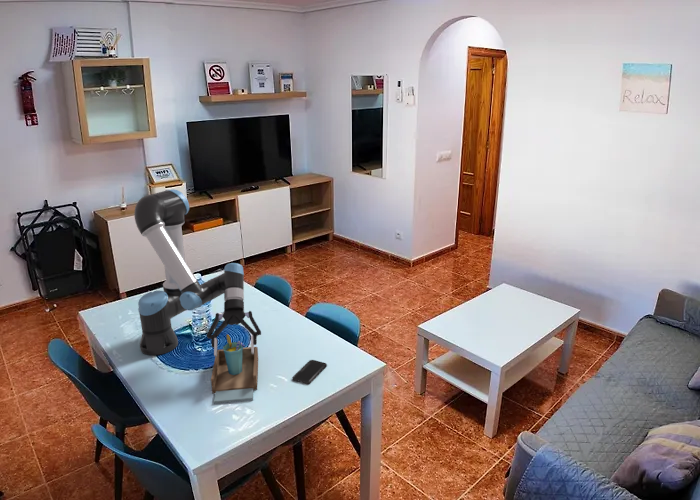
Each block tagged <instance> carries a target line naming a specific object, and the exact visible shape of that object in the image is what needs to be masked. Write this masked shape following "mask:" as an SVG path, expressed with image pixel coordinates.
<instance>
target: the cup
mask: <svg viewBox="0 0 700 500" xmlns="http://www.w3.org/2000/svg"><path fill="white" fill-rule="evenodd" d="M226 341H227V343H226V344H225V345H224V346H222V349H223V350H224V353H225V357H226V363H227V368H228V372H229V374H231V375H237V374H240V373H241V372H242V350H243V348H246V347H245V346H246V345H245V344H244V343H243V342H242V341H240V340H238V341H233V342H232V340H231V336H230V334H226Z"/></svg>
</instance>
